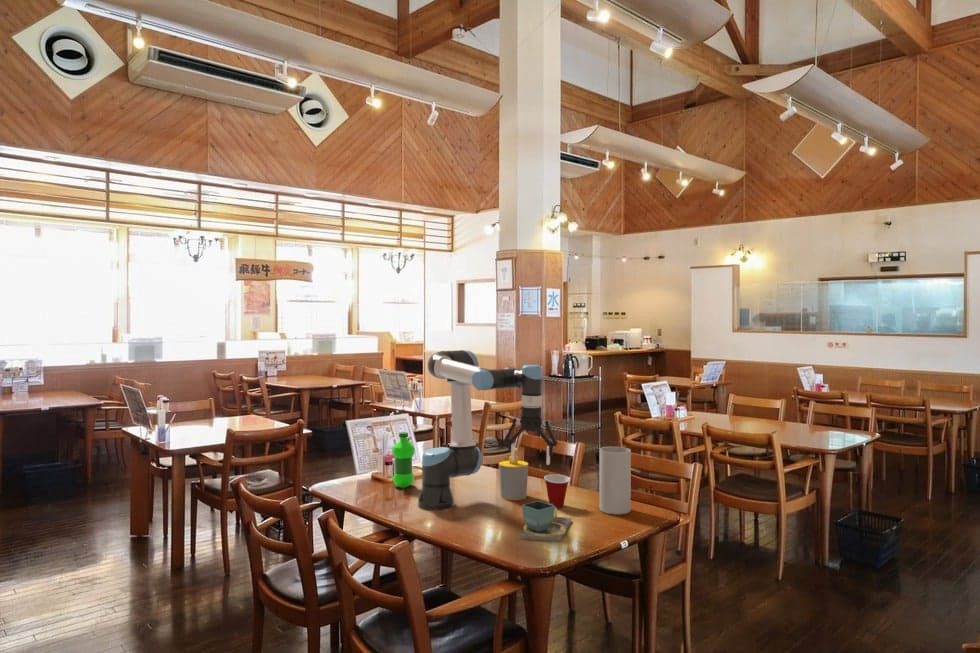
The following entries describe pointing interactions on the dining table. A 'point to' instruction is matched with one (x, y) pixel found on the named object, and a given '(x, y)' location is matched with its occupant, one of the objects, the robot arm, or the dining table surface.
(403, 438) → the plastic bottle
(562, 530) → the board
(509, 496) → the soap bottle
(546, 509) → the flower pot
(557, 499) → the plastic cup
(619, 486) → the cylinder vase
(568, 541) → the dining table surface
